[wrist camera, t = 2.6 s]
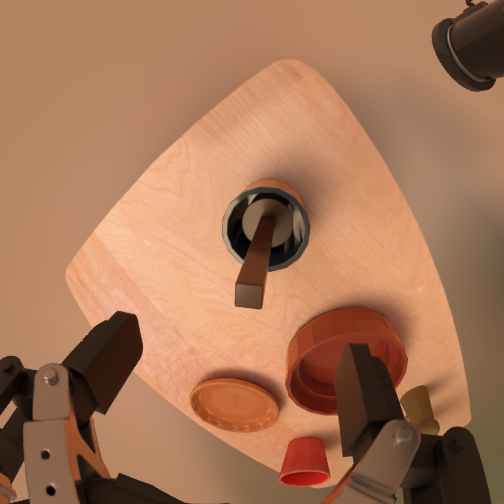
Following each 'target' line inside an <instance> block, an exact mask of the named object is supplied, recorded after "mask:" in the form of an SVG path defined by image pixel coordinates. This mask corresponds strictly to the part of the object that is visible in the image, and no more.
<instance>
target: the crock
mask: <svg viewBox="0 0 504 504" xmlns="http://www.w3.org/2000/svg"><path fill="white" fill-rule="evenodd" d="M263 192H264V193H275V194H278V195H280V196H282V197H284V198H286V199H287V200H288V201H289V203H290V205H291V208H292V216H293V230H292V233H291V235H290V236H289V238H288V239H287V240H286V241H285V242H284V243H283V244H281V245H279V246H277V247H273V248H271V255H270V261H269V268H268V272H270V271H271V272H272V271H276V270H279V269H283V268H286V267H288V266H289V265H291V264H292V263H294V262H295V261H296V260H298V259H299V258H300V257H301V255H302V253H303V252H304V250H305V248H306V247H307V245H308V242H309V235H310V223H309V220H308V216H307V213H306V210H305V207H304V204H303V201H302V198H301V196H300V195H299V194H298V192H297V191H296V190H295V189H294V188H293V187H292V186H291V185H289V184H287V183H286V182H284V181H281V180H277V179H263V180H259V181H257V182H254V183H252V184H251V185H250V186H249V187H247V188H246V189H245V190H244V191H243V192H242V193H241V194H239V195H238V196H237V197H236V198H235V199H234V200H233V201H232V202H231V203H230V204H229V206H228V208H227V210H226V213H225V215H224V217H223V224H222V236H223V239H224V241H225V244H226V247H227V249H228V251H229V252H230V253H231V254H232V255H233V256H234V258H235V259H236V260H237V261H238V262H239V263H241V264H243V262H244V260H245V257H246V254H247V252H248V249H249V246H250V244H251V241H250V240H249V239H248V238H247V237H246V235H245V233H244V231H243V228H242V218H243V214H244V212H245V210H246V209H247V207H248V206H249V204H250V203H251V201H252V200H253V199H254V198H255V197H256V196H257V195H259V194H260V193H263Z"/></svg>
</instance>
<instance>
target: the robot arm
mask: <svg viewBox="0 0 504 504" xmlns="http://www.w3.org/2000/svg"><path fill="white" fill-rule="evenodd" d="M471 1H472V0H466V4H467V5H468V6H470V7H468V8H467V9H465V10H464V11H463V13H462V14H461V15H459V16H458V17H456V18H455V19H453V20H452V21H450V27H448V28H447V30H446V32H445V41H446V45H447V48H448V51H449V53H450V55H451V57H452V58H453V60H454V61H455V63H456V64H457V66H458V67H459V68H460V69H461V70H462V71H463V72H464V73H465V74H466V75H467V76H468V77H470V78H471V79H473V80H475V81H478V82H486V81H489V80H491V79H496V78H501V77H504V0H495V1H494V2H492V3H490V4H488V3H486V2H484V1H482V2H480V3H478V4H477V5H475V4H474V3H471ZM142 352H143V343H142V338H141V333H140V328H139V323H138V318H137V316H136V315H135V314H131V313H126V312H122V311H117V312H116V313H115V314H114V315H113V316H112V317H111V318H110V319H109V320H105V321H103V322H101V323H100V324H98V325H96V326H95V327H94V328H93V329H92V330H91V331H90V332H89V334H88V335H86V336H85V338H84V339H83V341H81V342H80V343H79V344H78V345H77V346H76V347H75V348H74V350H73V351H72V352H71V353H70V354H69V355H68V356H67V357H66V359H65V360H64V361H63V362H62V363H61V364H58V363H50V364H46V365H44V366H43V367H41V368H40V369H39V370H38V371H37V370H31V369H26V368H24V366H23V365H22V363H21V361H20V359H19V358H18V357H16V356H7V357H4V358H3V359H1V360H0V415H1V414H2V412H3V411H4V410H5V408H6V407H7V405H8V404H9V403H10V401H11V400H12V401H13V402H14V404H15V405H16V407H17V408H16V410H15V411H14V412H13V414H12V415H11V417H10V418H9V420H8V421H7V423H6V424H5V426H4V427H3V428H2V429H1V428H0V504H189V503H184V502H182V501H179V500H178V499H176V498H174V497H172V496H170V495H168V494H167V493H165V492H163V491H161V490H159V489H158V488H156V487H154V486H153V485H151V484H148V483H145V482H142V481H139V480H136V479H134V478H131V477H129V476H126V475H124V474H121V473H119V474H118V477H117V479H115V478H111V476H110V474H109V472H108V470H107V468H106V466H105V464H104V462H103V460H102V457H101V454H100V449H99V445H98V441H97V436H96V431H95V427H94V421H93V418H92V414H93V413H94V411H97V412H99V413H101V414H104V415H105V414H106V413H107V411H108V409H109V407H110V406H111V404H112V403H113V401H114V399H115V398H116V396H117V394H118V393H119V391H120V390H121V388H122V386H123V385H124V383H125V382H126V380H127V378H128V377H129V375H130V374H131V372H132V371H133V369H134V367H135V366H136V364H137V363H138V361H139V360H140V358H141V356H142ZM334 387H335V394H336V401H337V409H338V417H339V425H340V434H341V444H342V454H343V457H349V456H353V462H354V464H353V465H352V466H351V467H350V469H349V470H348V471H347V472H346V474H345V475H344V476H343V478H342V479H341V480H340V481H339V483H338V484H337V485H336V486H335V487H334V489H333V490H332V491H331V492H330V493H329V495H328V496H327V497H326V498H325V499H324V500H323V501H322V502H321V503H320V504H395V503H396V500H397V498H396V497H395V493H396V491H397V489H398V488H399V487H402V488H403V497H404V504H491V500H490V494H489V489H488V485H487V481H486V477H485V473H484V469H483V465H482V462H481V458H480V455H479V452H478V449H477V446H476V443H475V440H474V437H473V435H472V434H471V433H470V431H468V430H467V429H465V428H463V427H452V428H450V429H449V430H448V431H447V432H446V433H445V434H444V435H443V436H439V435H430V434H423V433H420V431H419V429H418V428H417V427H416V426H415V425H414V424H413V423H411V422H409V421H407V420H405V418H404V415H403V412H402V409H401V406H400V403H399V400H398V397H397V394H396V391H395V388H394V387H393V382H392V379H391V378H390V374H389V371H388V368H387V366H386V365H385V363H384V362H383V361H382V360H381V359H380V358H379V357H378V356H372V355H371V352H370V349H369V346H368V344H367V343H351V342H348V343H346V345H345V347H344V350H343V353H342V356H341V359H340V362H339V364H338V367H337V370H336V373H335V380H334ZM23 462H24V463H25V473H26V482H27V489H28V494H29V499H27V500H22V501H18V502H13V503H10V500H12V501H14V500H15V499H16V497H17V496H16V492H15V491H14V490H13V489H12V486H11V485H12V482H13V481H14V479H15V477H16V475H17V473H18V471H19V469H20V467H21V465H22V463H23ZM223 504H228V503H223Z"/></svg>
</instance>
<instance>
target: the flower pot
mask: <svg viewBox="0 0 504 504" xmlns="http://www.w3.org/2000/svg"><path fill="white" fill-rule="evenodd" d="M329 478H330V471H329V467H328V462H327V458H326V454H325V450H324V447H323V443H322V442H321V441H320V440H319V439H316V438H299V439H296V440H293V441H292V442H290V443H289V445H288V448H287V452H286V455H285V459H284V462H283V466H282V469H281V472H280V476H279V480H280V482H282V483H283V484H286V485H290V486H312V485H317V484H321V483H323V482H326V481H327V480H329Z"/></svg>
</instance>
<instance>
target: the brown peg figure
mask: <svg viewBox="0 0 504 504" xmlns="http://www.w3.org/2000/svg"><path fill="white" fill-rule="evenodd" d="M400 402H401V404H402V406H403V408H404V410H405V412H406V414H407V416H408V418H409V420H410V422H411V423H413V424H414V425H415V426H416V427H417V428H418V429H419V431H420V433H423V434H430V435H437V434H438V433H439V430H440V426H439V423H438V422H437V420H435V419H434V417H433V412H432V408H431V403H430V399H429V395H428V391H427V388H426V387H424V386H420V387H416V388H413V389H411V390H409V391H408V392H407V393H405V394H404V395H403V397H402V398H401V401H400Z"/></svg>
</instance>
